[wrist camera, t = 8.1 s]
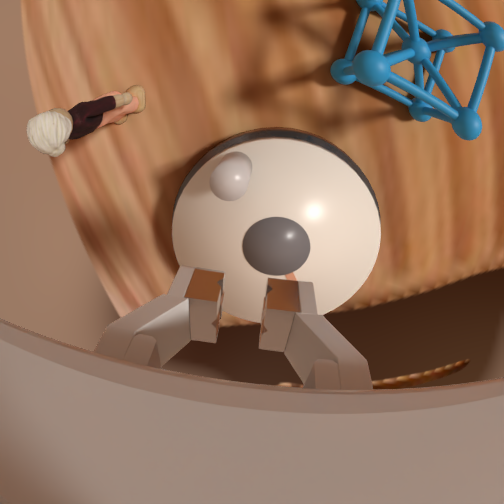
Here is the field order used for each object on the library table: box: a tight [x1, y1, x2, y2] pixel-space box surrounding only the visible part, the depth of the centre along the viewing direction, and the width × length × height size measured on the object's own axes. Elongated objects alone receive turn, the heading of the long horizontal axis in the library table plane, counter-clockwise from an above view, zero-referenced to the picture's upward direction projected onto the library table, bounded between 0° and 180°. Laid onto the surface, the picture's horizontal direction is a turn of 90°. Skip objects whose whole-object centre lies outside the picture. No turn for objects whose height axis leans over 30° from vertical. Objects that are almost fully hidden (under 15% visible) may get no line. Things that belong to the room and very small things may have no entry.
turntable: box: [172, 137, 381, 323], centre depth 26 cm, size 19×19×6 cm
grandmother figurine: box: [27, 85, 145, 157], centre depth 19 cm, size 8×4×13 cm, turn 122°
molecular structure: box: [330, 0, 504, 140], centre depth 16 cm, size 10×10×10 cm
